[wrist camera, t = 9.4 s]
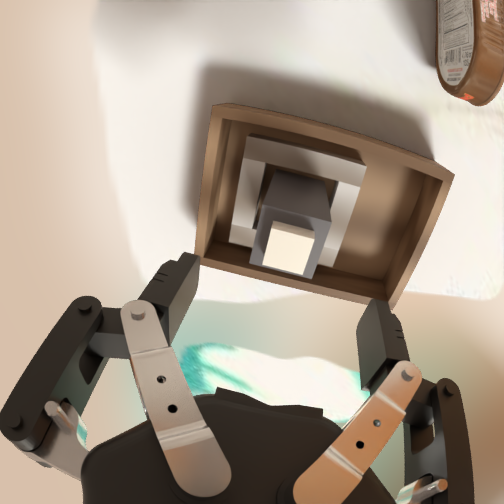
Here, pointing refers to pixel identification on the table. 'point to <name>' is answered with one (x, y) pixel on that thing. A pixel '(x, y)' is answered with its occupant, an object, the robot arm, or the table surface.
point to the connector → (292, 225)
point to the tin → (470, 48)
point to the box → (339, 198)
